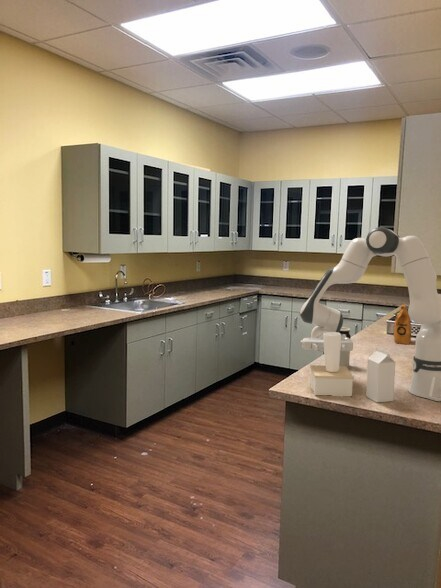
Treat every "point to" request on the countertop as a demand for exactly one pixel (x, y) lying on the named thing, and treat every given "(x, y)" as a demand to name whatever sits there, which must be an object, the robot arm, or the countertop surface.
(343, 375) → the painted box
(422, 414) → the countertop surface
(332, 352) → the white ceramic cup
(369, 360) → the milk carton
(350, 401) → the countertop surface
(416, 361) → the robot arm
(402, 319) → the coffee package
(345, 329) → the travel mug
